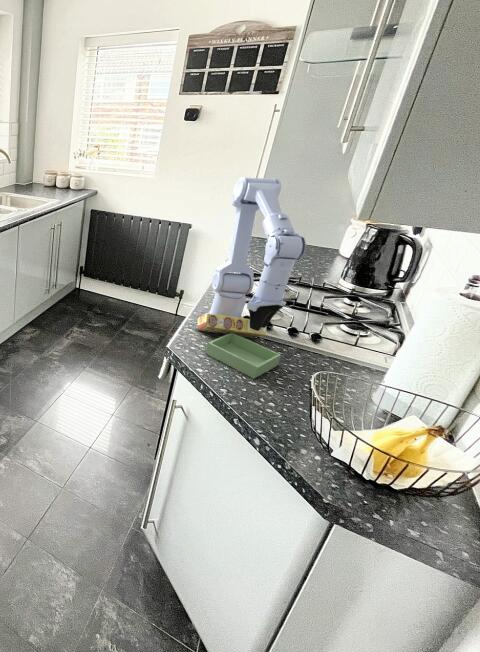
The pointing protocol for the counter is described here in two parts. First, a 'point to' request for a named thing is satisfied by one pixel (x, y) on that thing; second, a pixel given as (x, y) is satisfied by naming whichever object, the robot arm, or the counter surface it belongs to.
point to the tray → (243, 354)
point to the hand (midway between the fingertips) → (257, 327)
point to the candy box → (228, 325)
